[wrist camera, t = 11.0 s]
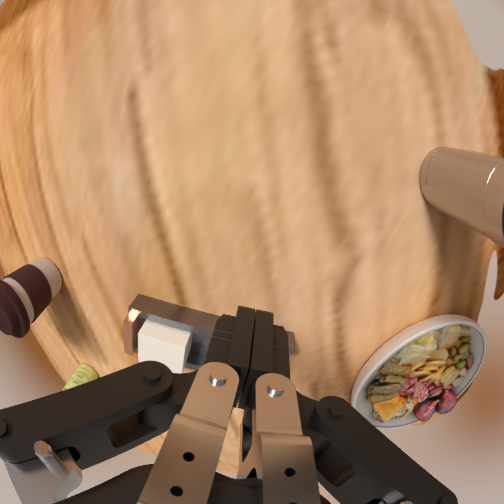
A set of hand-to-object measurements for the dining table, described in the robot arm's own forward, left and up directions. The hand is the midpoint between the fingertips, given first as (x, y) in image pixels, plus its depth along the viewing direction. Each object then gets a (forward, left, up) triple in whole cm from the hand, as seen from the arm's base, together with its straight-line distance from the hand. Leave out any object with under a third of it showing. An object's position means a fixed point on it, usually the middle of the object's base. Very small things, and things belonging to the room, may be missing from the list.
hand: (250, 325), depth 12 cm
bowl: (-38, +23, -26) cm, 52 cm away
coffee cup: (+35, +21, -26) cm, 48 cm away
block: (+9, +23, -25) cm, 35 cm away
